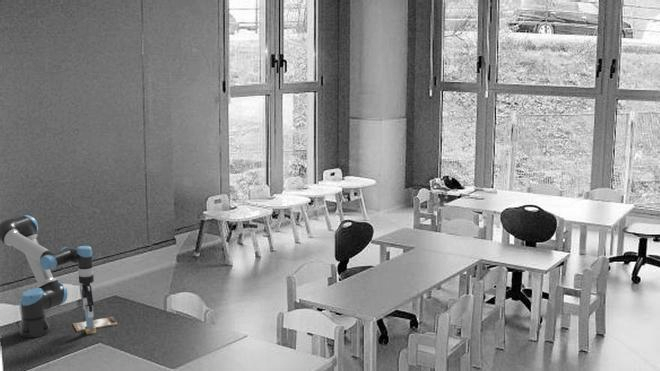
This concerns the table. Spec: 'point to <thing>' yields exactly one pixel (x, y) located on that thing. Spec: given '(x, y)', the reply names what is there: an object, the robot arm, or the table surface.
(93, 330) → the stand
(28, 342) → the table surface
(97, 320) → the clipboard
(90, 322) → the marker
